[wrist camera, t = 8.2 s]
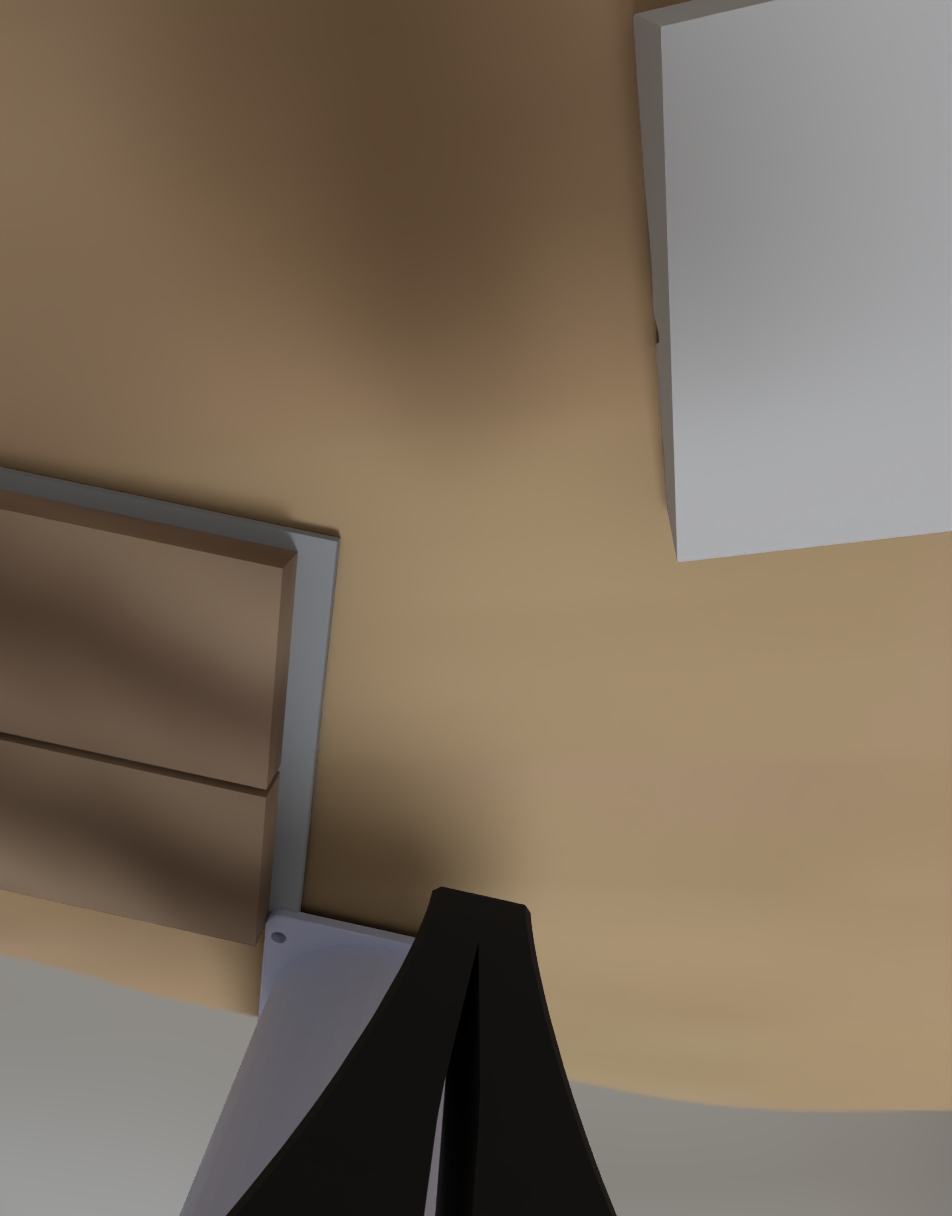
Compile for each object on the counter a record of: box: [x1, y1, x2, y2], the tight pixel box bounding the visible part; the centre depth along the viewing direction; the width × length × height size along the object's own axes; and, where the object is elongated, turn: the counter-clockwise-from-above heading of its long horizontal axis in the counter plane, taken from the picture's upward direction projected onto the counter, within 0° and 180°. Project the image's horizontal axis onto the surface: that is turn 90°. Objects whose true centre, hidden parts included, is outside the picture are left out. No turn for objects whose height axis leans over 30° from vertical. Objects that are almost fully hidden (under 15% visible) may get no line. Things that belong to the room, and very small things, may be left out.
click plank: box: [0, 489, 298, 790], centre depth 21 cm, size 7×14×1 cm, turn 80°
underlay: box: [0, 467, 340, 927], centre depth 23 cm, size 14×16×1 cm
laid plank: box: [0, 732, 280, 946], centre depth 24 cm, size 6×14×1 cm, turn 80°
